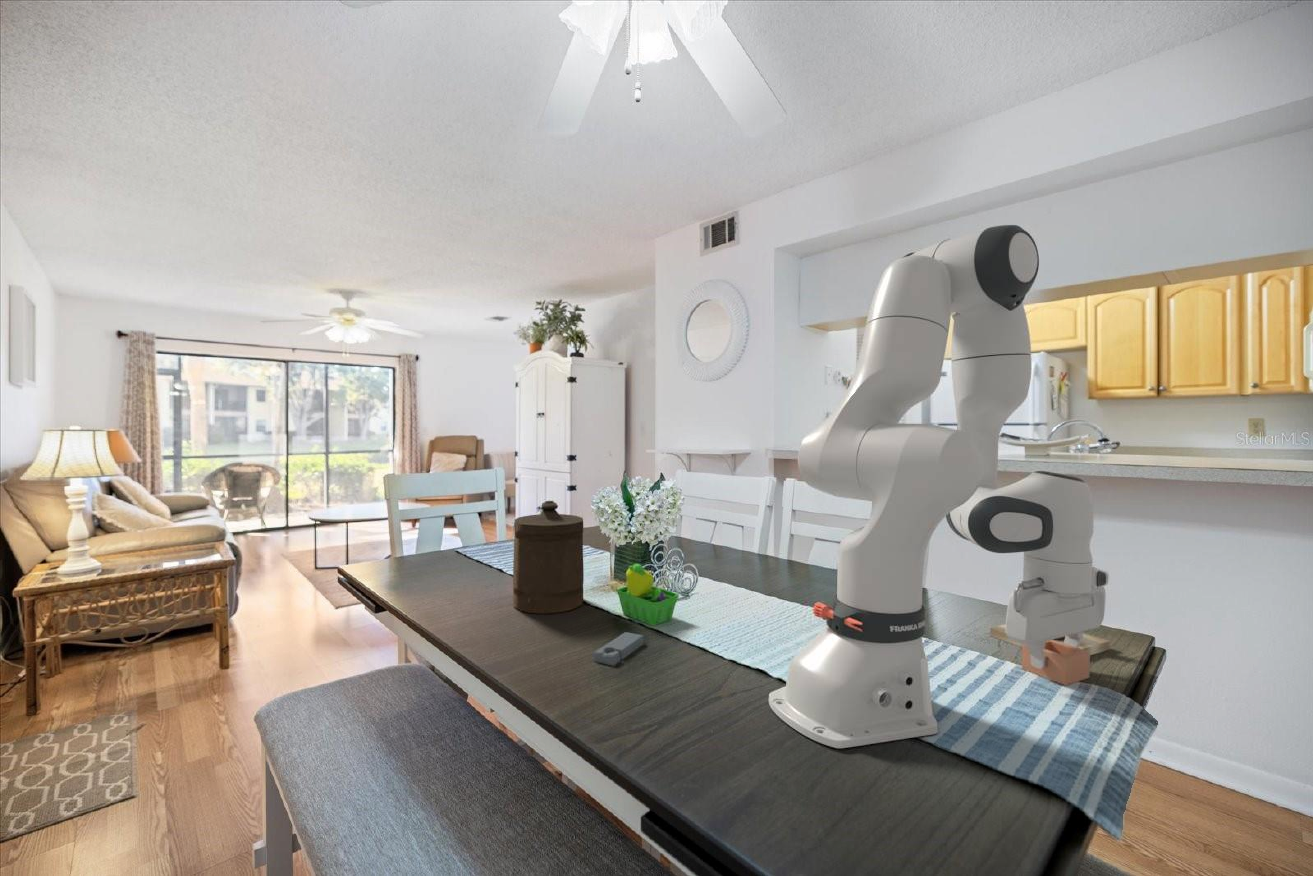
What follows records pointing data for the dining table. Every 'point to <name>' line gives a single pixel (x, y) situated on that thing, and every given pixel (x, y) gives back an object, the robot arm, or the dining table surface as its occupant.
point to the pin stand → (1060, 640)
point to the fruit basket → (645, 597)
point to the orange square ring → (1060, 662)
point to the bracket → (618, 648)
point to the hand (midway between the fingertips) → (1054, 662)
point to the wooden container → (548, 561)
